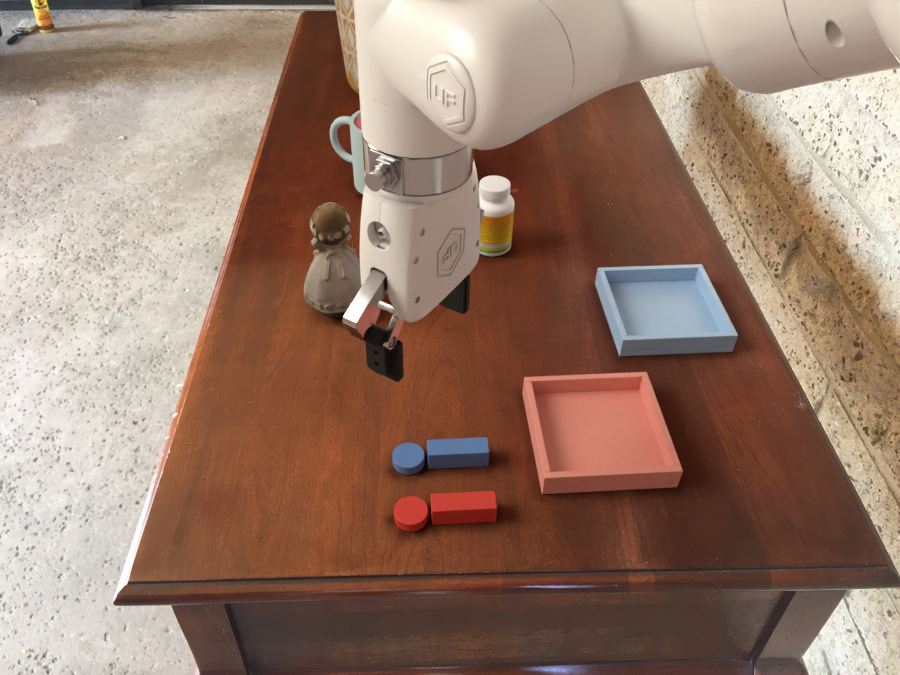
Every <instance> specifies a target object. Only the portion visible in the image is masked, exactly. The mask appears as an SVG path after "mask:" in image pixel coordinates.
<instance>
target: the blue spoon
mask: <svg viewBox="0 0 900 675" xmlns="http://www.w3.org/2000/svg"><path fill="white" fill-rule="evenodd" d="M425 457H426V458H427V469H428V470H437V469H439V470H440V469H458V468H459V469H460V468H479V467H488V466H489V463H490V462H489V460H490V448H489V440H488V437H487V436H482V437H481V436H480V437H459V438H439V439H438V438H436V439H427V440H426V456H425V451H424V449H423V447H421V446H420V445H419V444H418V443H415V442H403V443H400V444H399V445H397V446H396V447H395V448H394V449H393V451H392V453H391V459H392V461H391V462H392V466H393V468H394V470H395V471H396V472H397V473H398V474H401V475H404V476H412V475H415V474H418V473H420V471H422V469H423V468H424V467H425V461H426V458H425Z"/></svg>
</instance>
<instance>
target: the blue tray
mask: <svg viewBox="0 0 900 675" xmlns="http://www.w3.org/2000/svg"><path fill="white" fill-rule="evenodd" d="M594 285H595V288H596V292H597V294H598V297H599V300H600V303H601V307H602V310H603V312H604V315H605V318H606V322H607V324H608V327H609V330H610V333H611V336H612V339H613V342H614V345H615V348H616V350H617V353H618V354H617V355H618V356H619V357H635V356H636V357H637V356H638V357H639V356H661V355H662V356H664V355H685V354H706V353H707V354H709V353H713V354H714V353H733V352H734V348H735V344H736V343H737V340H738V338H739V334H738V332H737V330H736V327H735V326H734V324H733V323H732V320H731V318H730V317H729V315H728V312H727V311H726V309H725V307H724V305H723V302H722V300H721V299H720V297H719V295H718V293H717V291H716V289H715V287H714V285H713V284H712V281H711V279H710V277H709V276H708V273H707V272H706V270H705V268H704V265H703V264H702V263H698V264H693V263H692V264H663V265H662V264H661V265H635V266H634V265H633V266H606V267H605V266H603V267H597V270H596V275H595V279H594Z"/></svg>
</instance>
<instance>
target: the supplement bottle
mask: <svg viewBox="0 0 900 675" xmlns="http://www.w3.org/2000/svg"><path fill="white" fill-rule="evenodd" d="M478 184H479V198H480V208H482V209H484V215H483V218H482V222H481V225H480V251H479V255H482V256H486V257H499V256H502V255H505V254H506V253H508V252H509V251H510V249H511V248H512V241H513V228H514V226H513V225H514V214H515V199H514V198H513V196H512V194H511V188H512V186H511V181H510V180H509V179H508V178H506V177H504V176H501V175H497V174H495V175H493V174H492V175H487V176H484V177H483V178H481V179H480V180H479V181H478Z"/></svg>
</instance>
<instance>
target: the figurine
mask: <svg viewBox="0 0 900 675" xmlns="http://www.w3.org/2000/svg"><path fill="white" fill-rule="evenodd" d="M309 228H310V231H311V234H312V235H313V238H312V239H311V240H310V244H311V246H313V248H316V249H314V250H313V252H312V255H313V260H312V262H311V263H310V265H309V269H308V271H307V273H306V277H305V281H304V284H303V297H304V301H305V302H306V304H308V305H310V306H311V307H312V308H314V309H315V310H317V311H319V312H320V313H321V314H322V315H323V316H324V317H325V316H326V317H327V318H331V319H343V316H344V314H345V313H346V311H347V310H348V308H349V306H350V305H351V303H352V302H353V300H354V298H355V297H356V295H357V294H358V292H359V290H360V289H361V287H362V285H361V275H360V259H359V258H358V256H357V249H356V248H353V247H350V246H349V245H348V244H349V242H350V241H351V239H352V235H351V233H350V232H351V230H352V224H351V217H350V214H349V213H348V211H347V210H346V209H345V207H344V206H342V205H340V204H338V203H336V202H332V201H329V202H325V203H322V204H321V205H319V206H317V207H316V208H315V210H314V212H313V213H312V215H311V216H310V220H309Z"/></svg>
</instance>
